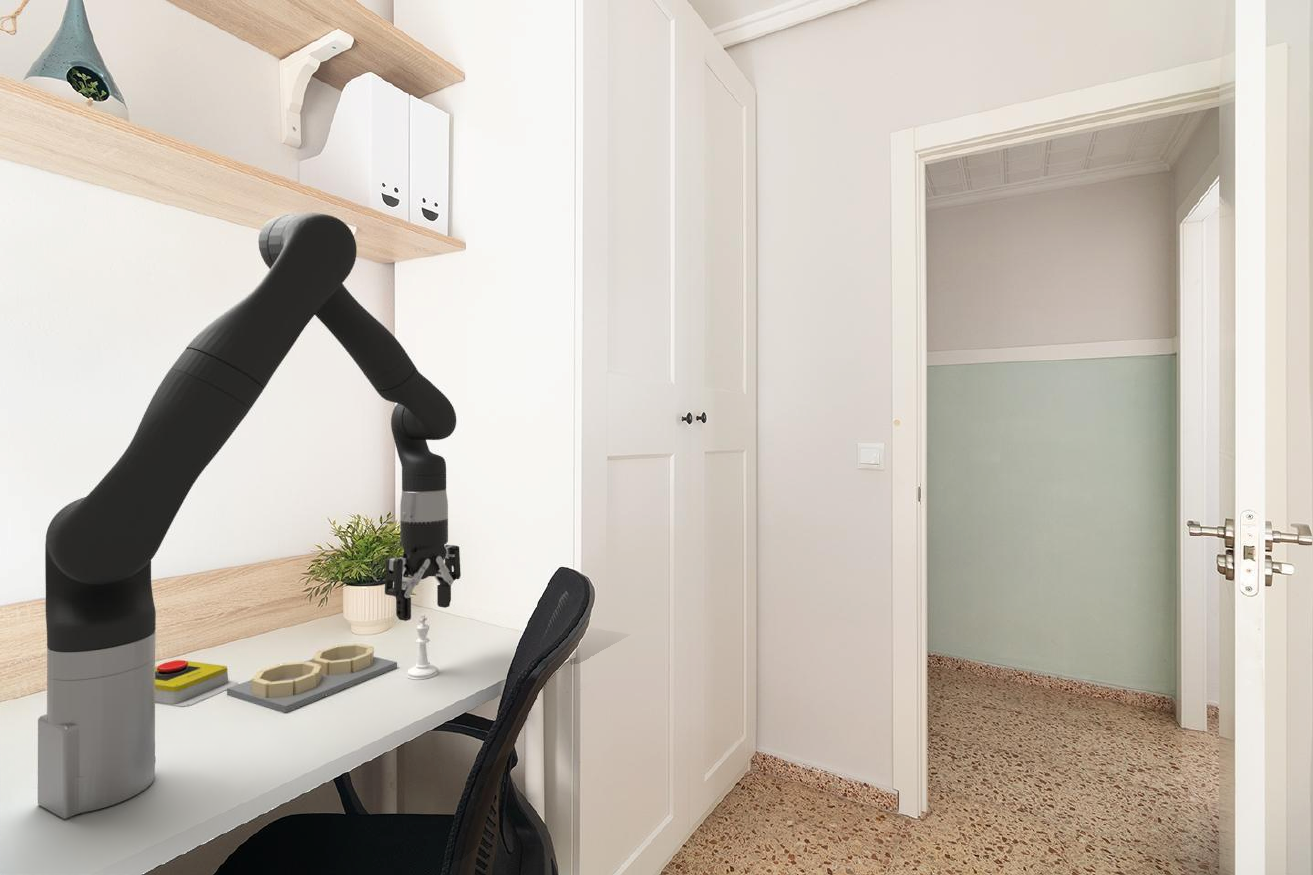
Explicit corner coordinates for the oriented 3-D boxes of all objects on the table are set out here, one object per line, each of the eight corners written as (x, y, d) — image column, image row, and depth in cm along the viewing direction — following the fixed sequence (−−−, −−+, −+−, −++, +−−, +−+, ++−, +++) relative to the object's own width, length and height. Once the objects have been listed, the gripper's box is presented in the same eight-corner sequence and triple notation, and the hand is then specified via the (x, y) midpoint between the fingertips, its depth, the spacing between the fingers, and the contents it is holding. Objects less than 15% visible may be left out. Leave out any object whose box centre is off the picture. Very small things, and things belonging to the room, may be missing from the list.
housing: (285, 713, 92) (285, 692, 92) (227, 694, 98) (227, 675, 98) (397, 667, 110) (397, 650, 110) (341, 654, 116) (341, 638, 116)
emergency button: (170, 650, 106) (242, 659, 102) (170, 676, 106) (241, 687, 103) (109, 670, 97) (185, 681, 94) (109, 699, 97) (185, 711, 94)
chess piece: (443, 670, 109) (444, 611, 109) (427, 681, 104) (428, 620, 104) (417, 667, 110) (418, 609, 110) (400, 678, 105) (401, 618, 105)
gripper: (406, 524, 99) (407, 628, 99) (471, 513, 112) (471, 605, 112) (373, 520, 102) (373, 621, 103) (439, 510, 115) (439, 600, 115)
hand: (424, 612), depth 107 cm, fingers open, 8 cm apart
